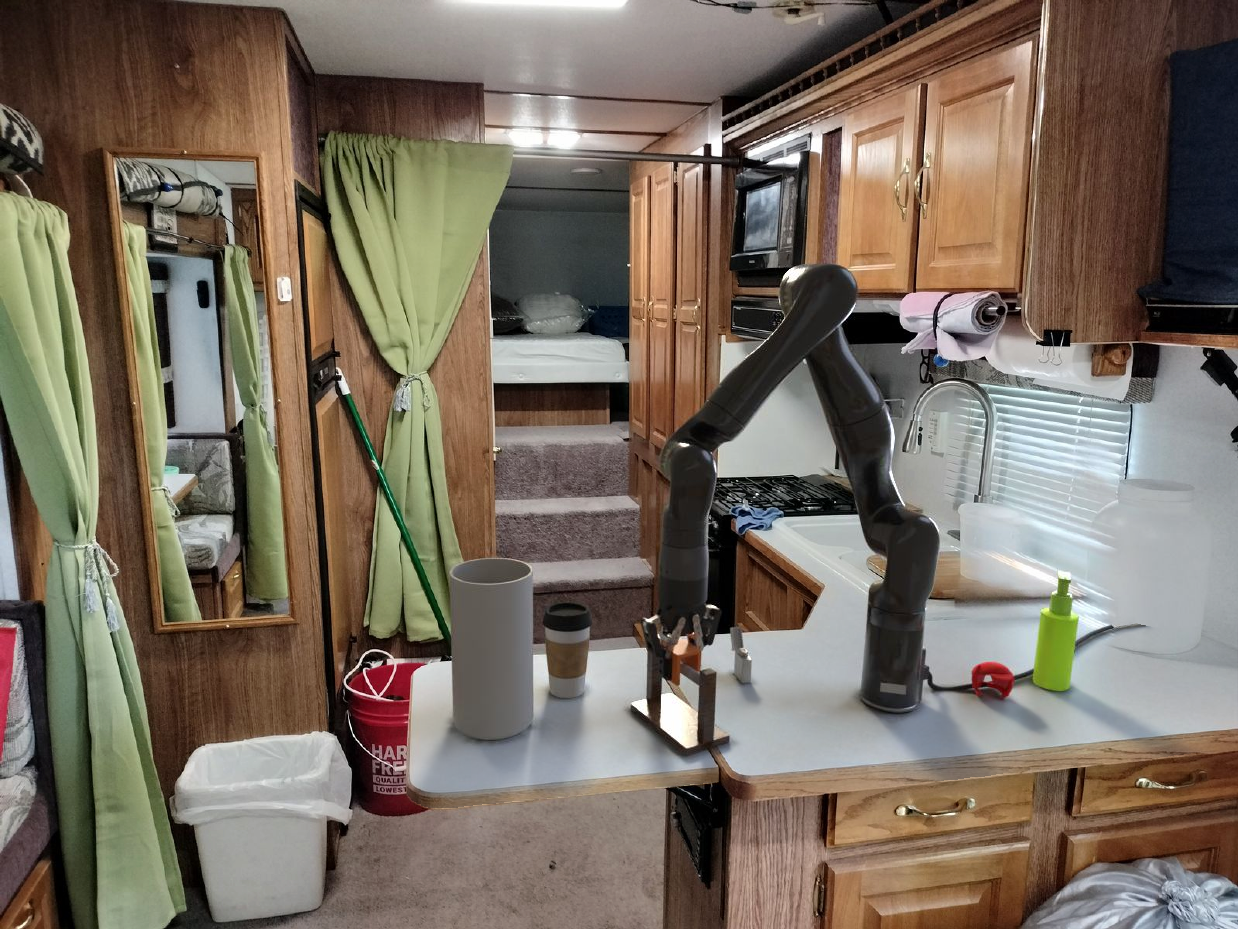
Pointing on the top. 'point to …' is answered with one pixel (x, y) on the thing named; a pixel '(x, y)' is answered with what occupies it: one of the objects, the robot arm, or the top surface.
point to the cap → (993, 677)
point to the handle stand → (682, 710)
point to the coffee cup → (567, 647)
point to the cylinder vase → (492, 647)
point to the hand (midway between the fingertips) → (679, 674)
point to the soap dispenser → (1056, 639)
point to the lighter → (740, 656)
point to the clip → (684, 659)
